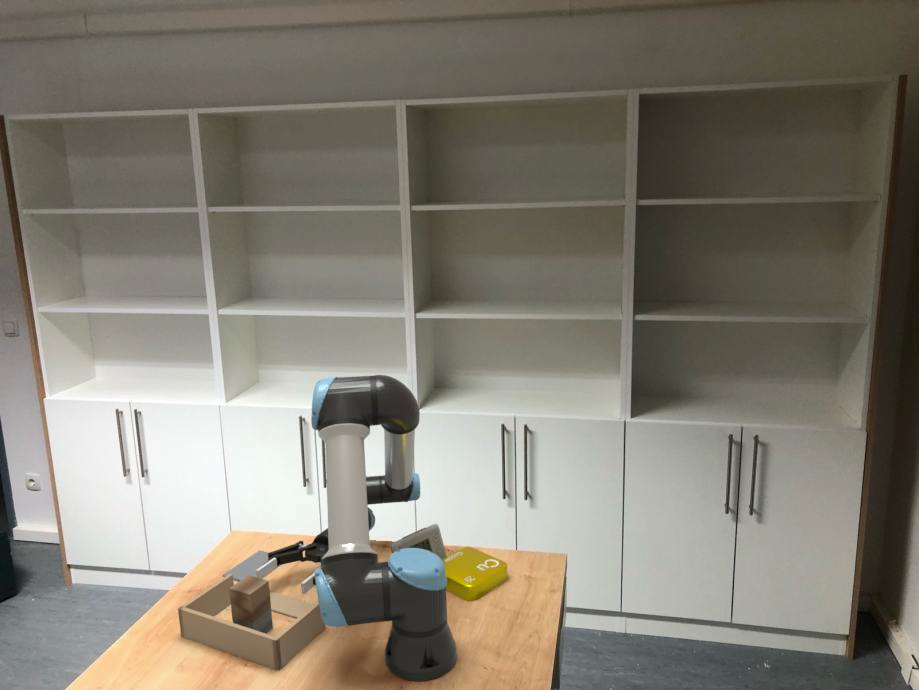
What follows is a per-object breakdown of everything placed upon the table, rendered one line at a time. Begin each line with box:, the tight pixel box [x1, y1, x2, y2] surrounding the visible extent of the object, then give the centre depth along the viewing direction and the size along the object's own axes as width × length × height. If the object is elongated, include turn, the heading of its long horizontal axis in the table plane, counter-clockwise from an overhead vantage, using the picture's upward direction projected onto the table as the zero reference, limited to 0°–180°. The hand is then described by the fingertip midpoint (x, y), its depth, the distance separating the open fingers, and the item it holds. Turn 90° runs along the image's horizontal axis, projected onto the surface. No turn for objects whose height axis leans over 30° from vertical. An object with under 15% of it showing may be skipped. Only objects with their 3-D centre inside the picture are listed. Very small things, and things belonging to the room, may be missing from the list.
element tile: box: [442, 546, 508, 602], centre depth 180 cm, size 15×15×5 cm
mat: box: [222, 549, 281, 582], centre depth 188 cm, size 10×14×1 cm
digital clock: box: [390, 523, 448, 559], centre depth 183 cm, size 16×9×11 cm, turn 123°
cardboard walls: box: [177, 574, 326, 671], centre depth 162 cm, size 28×22×7 cm
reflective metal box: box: [229, 575, 274, 634], centre depth 159 cm, size 6×6×12 cm
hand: (279, 582), depth 167 cm, fingers open, 13 cm apart
